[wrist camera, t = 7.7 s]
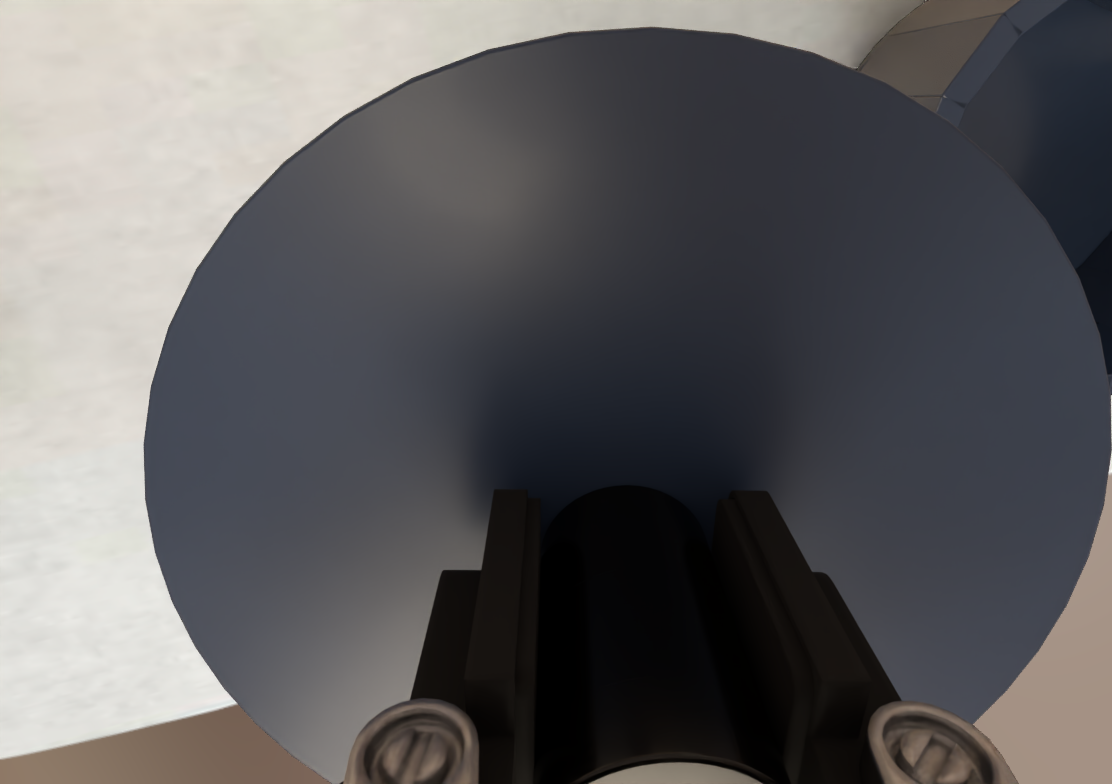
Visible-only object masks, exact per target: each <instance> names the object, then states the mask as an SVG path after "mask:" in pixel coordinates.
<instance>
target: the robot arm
mask: <svg viewBox="0 0 1112 784" xmlns="http://www.w3.org/2000/svg"><path fill="white" fill-rule="evenodd" d="M711 554H712V557H713V560H714V563H715V566H716V568H717V571H718V574H719V577H720V580H721V583H722V586H723V589H724V591H725V594H726V597H727V600H728V603H729V606H730V609H731V611H732V614H733V617H734V620H735V623H736V626H737V629H738V632H739V634H740V637H741V640H742V643H743V646H744V649H745V652H746V655H747V657H748V660H749V663H750V666H751V669H752V672H753V675H754V678H755V680H756V683H757V686H758V689H759V692H760V695H761V698H762V701H763V703H764V706H765V709H766V712H767V715H768V718H769V721H770V723H771V726H772V729H773V732H774V735H775V738H776V741H777V744H778V746H779V749H780V752H781V755H782V758H783V761H784V764H785V767H786V769H787V772H788V775H789V778H790V781H791V784H1019V783H1018V782H1017V780H1016V778H1015V776H1014V775H1013V773H1012V771H1011V770H1010V768H1009V766H1008V765H1007V763H1006V761H1005V760H1004V758H1003V756H1002V755H1001V754H1000V752H999V751H998V750H997V748H996V747H995V746H994V744H993V743H992V742H991V741H990V739H989V738H987V737H986V736H985V735H984V734H983V733H981V731H979V730H978V729H977V728H976V727H975V726H974V725H972V724H971V723H969V722H968V721H966V720H964V719H963V718H961V717H959V716H958V715H956V714H954V713H953V712H950V711H948V710H945V709H943V708H940V707H937V706H935V705H932V704H928V703H922V702H917V701H902V700H901V698H900V696H899V695H898V693H897V691H896V690H895V688H894V686H893V684H892V683H891V681H890V679H889V677H888V676H887V674H886V672H885V671H884V669H883V667H882V665H881V664H880V662H879V660H878V659H877V657H876V655H875V653H874V652H873V650H872V648H871V646H870V645H869V643H868V641H867V640H866V638H865V636H864V634H863V633H862V631H861V629H860V627H859V626H858V624H857V622H856V621H855V619H854V617H853V615H852V614H851V612H850V610H849V609H848V607H847V605H846V603H845V602H844V600H843V598H842V596H841V595H840V593H839V591H838V590H837V588H836V586H835V584H834V583H833V581H832V580H831V578H830V577H829V576H828V575H827V574H825V573H823V572H812V570H811V569H810V567H809V565H808V563H807V561H806V560H805V558H804V556H803V554H802V552H801V550H800V549H799V547H798V545H797V543H796V541H795V539H794V538H793V536H792V534H791V532H790V530H789V529H788V527H787V525H786V523H785V521H784V519H783V518H782V516H781V514H780V512H779V510H778V508H777V507H776V505H775V503H774V501H773V499H772V497H771V496H770V494H769V493H768V491H746V490H732V491H731V492H730V494H729V497H728V499H719V500H718V503H717V507H716V515H715V524H714V533H713V542H712V550H711ZM540 569H541V498H528V489H494V493H493V499H492V505H491V512H490V518H489V524H488V531H487V537H486V543H485V550H484V556H483V562H482V569H481V570H443V571H442V572H441V575H440V579H439V582H438V587H437V591H436V595H435V599H434V603H433V607H432V611H431V615H430V619H429V624H428V628H427V632H426V636H425V640H424V644H423V648H422V652H421V656H420V661H419V665H418V669H417V673H416V677H415V681H414V685H413V689H412V693H411V697H410V700H408V701H403V702H400V703H398V704H396V705H393V706H391V707H389V708H387V709H384V710H383V711H382V712H380V713H379V714H378V715H376V716H375V717H374V718H372V719H371V720H370V721H368V723H367V724H366V725H365V727H364V728H363V729H362V730H361V732H360V733H359V734H358V735H357V737H356V739H355V742H354V744H353V747H352V749H351V752H350V755H349V760H348V764H347V769H346V773H345V778H344V781H343V782H341V783H340V784H533V774H534V762H535V730H536V698H537V666H538V633H539V601H540Z"/></svg>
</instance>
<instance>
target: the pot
mask: <svg viewBox="0 0 1112 784" xmlns="http://www.w3.org/2000/svg"><path fill="white" fill-rule="evenodd" d="M857 71H860V72H862V73H864V74H867V75H869V76H872V77H874V78H877V79H879V80H882V81H884V82H886V83H887V84H889V85H891V86H892V87H894V88H896V89H897V90H899V91H901V92H902V93H904V94H906V95H907V96H909V97H910V98H912V99H914V100H915V101H917V102H919V103H920V104H922V105H924V106H925V107H927V108H929V109H930V110H932V111H933V112H935V113H937V114H938V115H940V116H942V117H943V118H945V119H947V120H948V121H949V122H951V123H952V124H953V125H954V126H955V127H956V128H958V129H959V130H960V131H961V132H962V133H963V134H965V135H966V136H967V137H968V138H969V139H970V140H972V141H973V142H974V143H975V144H976V145H977V146H979V147H980V148H981V149H982V150H983V151H984V152H985V153H987V154H988V155H989V156H990V157H991V158H992V159H994V160H995V161H996V162H997V163H998V164H999V165H1001V166H1002V167H1003V168H1004V170H1005V171H1006V172H1007V173H1008V174H1009V176H1010V177H1011V178H1012V179H1013V180H1014V182H1015V183H1016V184H1017V185H1018V186H1019V188H1020V189H1021V190H1022V191H1023V192H1024V194H1025V195H1026V196H1027V197H1028V199H1029V200H1030V201H1031V202H1032V203H1033V205H1034V206H1035V207H1036V208H1037V209H1038V211H1039V212H1040V213H1041V214H1042V215H1043V217H1044V218H1045V219H1046V221H1047V222H1048V224H1049V226H1050V227H1051V229H1052V231H1053V233H1054V234H1055V236H1056V238H1057V240H1058V241H1059V243H1060V245H1061V247H1062V248H1063V250H1064V252H1065V254H1066V255H1067V257H1068V259H1069V261H1070V262H1071V264H1072V266H1073V268H1074V269H1075V271H1076V273H1077V275H1078V276H1079V279H1080V281H1081V284H1082V287H1083V290H1084V292H1085V295H1086V298H1087V301H1088V303H1089V306H1090V309H1091V312H1092V314H1093V317H1094V320H1095V323H1096V325H1097V328H1098V331H1099V333H1100V338H1101V343H1102V349H1103V354H1104V360H1105V365H1106V370H1107V376H1108V381H1109V387H1110V392H1111V395H1112V0H928V1H927V2H925V3H924V4H922V5H920V6H919V7H917V8H916V9H915V10H913V11H912V12H911V13H910V14H908V15H907V16H906V17H905V18H904V19H902V20H901V21H900V22H899V23H898V24H896V25H895V26H894V27H893V28H892V29H891V30H890V31H889V32H888V33H887V34H886V35H885V36H884V37H883V38H882V39H881V40H880V41H879V42H878V43H877V45H876V46H875V47H874V48H873V49H872V50H871V52H870V53H869V54H868V56H867V57H866V58H865V59H864V61H863V62H862V63H861V65H860V66H859V67H858V69H857Z"/></svg>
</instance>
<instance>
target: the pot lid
mask: <svg viewBox="0 0 1112 784" xmlns="http://www.w3.org/2000/svg"><path fill="white" fill-rule="evenodd" d="M1111 451H1112V444H1111V392H1110V387H1109V381H1108V376H1107V370H1106V365H1105V360H1104V354H1103V349H1102V343H1101V338H1100V333H1099V331H1098V328H1097V325H1096V323H1095V320H1094V317H1093V314H1092V312H1091V309H1090V306H1089V303H1088V301H1087V298H1086V295H1085V292H1084V290H1083V287H1082V284H1081V281H1080V279H1079V276H1078V275H1077V273H1076V271H1075V269H1074V268H1073V266H1072V264H1071V262H1070V261H1069V259H1068V257H1067V255H1066V254H1065V252H1064V250H1063V248H1062V247H1061V245H1060V243H1059V241H1058V240H1057V238H1056V236H1055V234H1054V233H1053V231H1052V229H1051V227H1050V226H1049V224H1048V222H1047V221H1046V219H1045V218H1044V217H1043V215H1042V214H1041V213H1040V212H1039V211H1038V209H1037V208H1036V207H1035V206H1034V205H1033V203H1032V202H1031V201H1030V200H1029V199H1028V197H1027V196H1026V195H1025V194H1024V192H1023V191H1022V190H1021V189H1020V188H1019V186H1018V185H1017V184H1016V183H1015V182H1014V180H1013V179H1012V178H1011V177H1010V176H1009V174H1008V173H1007V172H1006V171H1005V170H1004V168H1003V167H1002V166H1001V165H999V164H998V163H997V162H996V161H995V160H994V159H992V158H991V157H990V156H989V155H988V154H987V153H985V152H984V151H983V150H982V149H981V148H980V147H979V146H977V145H976V144H975V143H974V142H973V141H972V140H970V139H969V138H968V137H967V136H966V135H965V134H963V133H962V132H961V131H960V130H959V129H958V128H956V127H955V126H954V125H953V124H952V123H951V122H949V121H948V120H947V119H945V118H943V117H942V116H940V115H938V114H937V113H935V112H933V111H932V110H930V109H929V108H927V107H925V106H924V105H922V104H920V103H919V102H917V101H915V100H914V99H912V98H910V97H909V96H907V95H906V94H904V93H902V92H901V91H899V90H897V89H896V88H894V87H892V86H891V85H889V84H887V83H886V82H884V81H882V80H879V79H877V78H874V77H872V76H869V75H867V74H864V73H862V72H860V71H857V70H855V69H852V68H850V67H847V66H845V65H842V64H840V63H837V62H835V61H833V60H830V59H828V58H825V57H823V56H820V55H818V54H815V53H813V52H809V51H805V50H801V49H797V48H792V47H788V46H784V45H780V44H776V43H771V42H767V41H763V40H759V39H755V38H750V37H746V36H742V35H738V34H733V33H721V32H709V31H697V30H685V29H673V28H661V27H640V28H625V29H610V30H594V31H579V32H567V33H563V34H558V35H553V36H549V37H544V38H539V39H535V40H530V41H525V42H521V43H516V44H512V45H507V46H502V47H498V48H493V49H488V50H486V51H483V52H480V53H478V54H475V55H472V56H470V57H467V58H464V59H461V60H459V61H456V62H453V63H451V64H448V65H445V66H443V67H440V68H437V69H435V70H432V71H429V72H427V73H424V74H421V75H419V76H416V77H413V78H411V79H409V80H408V81H406V82H404V83H402V84H400V85H399V86H397V87H395V88H393V89H391V90H390V91H388V92H386V93H384V94H382V95H381V96H379V97H377V98H375V99H373V100H372V101H370V102H368V103H366V104H364V105H363V106H361V107H359V108H357V109H355V110H354V111H352V112H350V113H348V114H346V115H344V116H343V117H342V118H340V119H339V120H338V121H336V122H335V123H334V124H333V125H331V126H330V127H329V128H327V129H326V130H325V131H324V132H322V133H321V134H320V135H318V136H317V137H316V138H314V139H313V140H312V141H311V142H309V143H308V144H307V145H305V146H304V147H303V148H301V149H300V150H299V151H298V152H296V153H295V154H294V155H292V156H291V157H290V158H288V159H287V160H286V161H285V162H283V164H282V165H281V166H280V167H279V168H278V169H277V170H276V171H275V172H274V173H273V174H272V175H271V176H270V177H269V178H268V179H267V180H266V181H265V182H264V183H263V185H262V186H261V187H260V188H259V189H258V190H257V191H256V192H255V193H254V194H253V195H252V196H251V197H250V198H249V199H248V200H247V201H246V202H245V203H244V204H243V205H242V207H241V208H240V209H239V210H238V211H237V212H236V213H235V214H234V215H233V217H232V218H231V220H230V221H229V223H228V224H227V226H226V227H225V228H224V230H223V231H222V233H221V234H220V236H219V237H218V239H217V240H216V241H215V243H214V244H213V246H212V247H211V249H210V250H209V252H208V253H207V254H206V256H205V257H204V259H203V260H202V262H201V263H200V265H199V266H198V267H197V269H196V271H195V273H194V275H193V277H192V279H191V281H190V283H189V285H188V288H187V290H186V292H185V294H184V296H183V298H182V300H181V302H180V304H179V306H178V308H177V310H176V313H175V315H174V317H173V319H172V321H171V323H170V325H169V327H168V331H167V334H166V337H165V341H164V344H163V348H162V351H161V354H160V358H159V361H158V365H157V368H156V371H155V375H154V378H153V381H152V385H151V391H150V399H149V406H148V414H147V422H146V430H145V438H144V472H145V501H146V506H147V511H148V517H149V522H150V527H151V533H152V538H153V544H154V549H155V553H156V556H157V559H158V562H159V565H160V568H161V571H162V574H163V577H164V580H165V582H166V585H167V588H168V591H169V594H170V597H171V600H172V602H173V604H174V606H175V608H176V610H177V612H178V614H179V616H180V618H181V620H182V622H183V624H184V626H185V628H186V630H187V632H188V634H189V636H190V638H191V640H192V642H193V644H194V645H195V647H196V649H197V650H198V652H199V653H200V654H201V656H202V657H203V659H204V660H205V662H206V663H207V665H208V666H209V668H210V669H211V670H212V672H213V673H214V675H215V676H216V678H217V679H218V681H219V682H220V683H221V685H222V686H223V688H224V689H225V690H226V691H227V692H228V693H229V694H230V696H231V697H232V698H233V699H234V700H235V701H236V702H237V703H238V705H239V706H240V707H241V708H242V709H243V710H244V711H245V712H246V713H247V715H248V716H249V717H250V718H251V719H252V720H253V721H254V722H255V724H256V725H258V726H259V727H260V728H261V729H262V730H263V731H265V733H267V734H268V735H269V736H270V737H271V738H272V739H273V740H275V741H276V742H277V743H278V744H279V745H280V746H281V747H283V748H284V749H285V750H286V751H287V752H288V753H289V754H290V755H291V756H293V757H294V758H296V759H297V760H298V761H300V762H301V763H303V764H304V765H305V766H307V767H308V768H310V769H311V770H313V771H314V772H315V773H317V774H318V775H320V776H321V777H322V778H324V779H325V780H327V781H328V782H330V783H331V784H340V783H341V782H343V781H344V778H345V773H346V769H347V764H348V760H349V755H350V752H351V749H352V747H353V744H354V742H355V739H356V737H357V735H358V734H359V733H360V732H361V730H362V729H363V728H364V727H365V725H366V724H367V723H368V721H370V720H371V719H372V718H374V717H375V716H376V715H378V714H379V713H380V712H382V711H383V710H384V709H387V708H389V707H391V706H393V705H396V704H398V703H400V702H403V701H408V700H410V697H411V693H412V689H413V685H414V681H415V677H416V673H417V669H418V665H419V661H420V656H421V652H422V648H423V644H424V640H425V636H426V632H427V628H428V624H429V619H430V615H431V611H432V607H433V603H434V599H435V595H436V591H437V587H438V582H439V579H440V575H441V572H442V571H443V570H481V569H482V562H483V556H484V550H485V543H486V537H487V531H488V524H489V518H490V512H491V505H492V499H493V493H494V489H528V498H541V569H540V601H539V633H538V666H537V698H536V730H535V762H534V774H533V784H791V781H790V778H789V775H788V772H787V769H786V767H785V764H784V761H783V758H782V755H781V752H780V749H779V746H778V744H777V741H776V738H775V735H774V732H773V729H772V726H771V723H770V721H769V718H768V715H767V712H766V709H765V706H764V703H763V701H762V698H761V695H760V692H759V689H758V686H757V683H756V680H755V678H754V675H753V672H752V669H751V666H750V663H749V660H748V657H747V655H746V652H745V649H744V646H743V643H742V640H741V637H740V634H739V632H738V629H737V626H736V623H735V620H734V617H733V614H732V611H731V609H730V606H729V603H728V600H727V597H726V594H725V591H724V589H723V586H722V583H721V580H720V577H719V574H718V571H717V568H716V566H715V563H714V560H713V557H712V554H711V550H712V542H713V533H714V524H715V515H716V507H717V503H718V500H719V499H728V497H729V494H730V492H731V491H732V490H746V491H768V493H769V494H770V496H771V497H772V499H773V501H774V503H775V505H776V507H777V508H778V510H779V512H780V514H781V516H782V518H783V519H784V521H785V523H786V525H787V527H788V529H789V530H790V532H791V534H792V536H793V538H794V539H795V541H796V543H797V545H798V547H799V549H800V550H801V552H802V554H803V556H804V558H805V560H806V561H807V563H808V565H809V567H810V569H811V570H812V572H823V573H825V574H827V575H828V576H829V577H830V578H831V580H832V581H833V583H834V584H835V586H836V588H837V590H838V591H839V593H840V595H841V596H842V598H843V600H844V602H845V603H846V605H847V607H848V609H849V610H850V612H851V614H852V615H853V617H854V619H855V621H856V622H857V624H858V626H859V627H860V629H861V631H862V633H863V634H864V636H865V638H866V640H867V641H868V643H869V645H870V646H871V648H872V650H873V652H874V653H875V655H876V657H877V659H878V660H879V662H880V664H881V665H882V667H883V669H884V671H885V672H886V674H887V676H888V677H889V679H890V681H891V683H892V684H893V686H894V688H895V690H896V691H897V693H898V695H899V696H900V698H901V700H902V701H917V702H922V703H928V704H932V705H935V706H937V707H940V708H943V709H945V710H948V711H950V712H953V713H954V714H956V715H958V716H959V717H961V718H963V719H964V720H966V721H968V722H969V723H971V724H972V725H973V724H974V723H975V722H976V721H977V719H979V718H980V717H981V716H982V715H983V714H984V713H985V712H986V711H987V710H988V709H989V708H990V707H991V706H992V705H993V704H994V703H995V702H996V701H997V700H998V699H999V698H1000V697H1001V696H1002V695H1003V694H1004V693H1005V692H1006V691H1007V689H1008V688H1009V687H1010V686H1011V685H1012V683H1013V682H1014V681H1015V680H1016V678H1017V677H1018V675H1019V674H1020V673H1021V672H1022V670H1023V669H1024V668H1025V667H1026V666H1027V665H1028V663H1029V662H1030V661H1031V660H1032V658H1033V657H1034V656H1035V655H1036V653H1037V652H1038V651H1039V649H1040V648H1041V646H1042V645H1043V643H1044V641H1045V640H1046V638H1047V636H1048V635H1049V633H1050V632H1051V630H1052V628H1053V627H1054V625H1055V623H1056V622H1057V620H1058V619H1059V617H1060V615H1061V614H1062V612H1063V611H1064V608H1065V607H1066V606H1067V604H1068V601H1069V599H1070V597H1071V595H1072V592H1073V590H1074V588H1075V586H1076V584H1077V581H1078V579H1079V577H1080V575H1081V573H1082V570H1083V568H1084V566H1085V564H1086V562H1087V559H1088V557H1089V554H1090V550H1091V547H1092V544H1093V540H1094V537H1095V534H1096V530H1097V526H1098V523H1099V520H1100V516H1101V513H1102V510H1103V506H1104V501H1105V494H1106V486H1107V479H1108V472H1109V465H1110V458H1111Z"/></svg>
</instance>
